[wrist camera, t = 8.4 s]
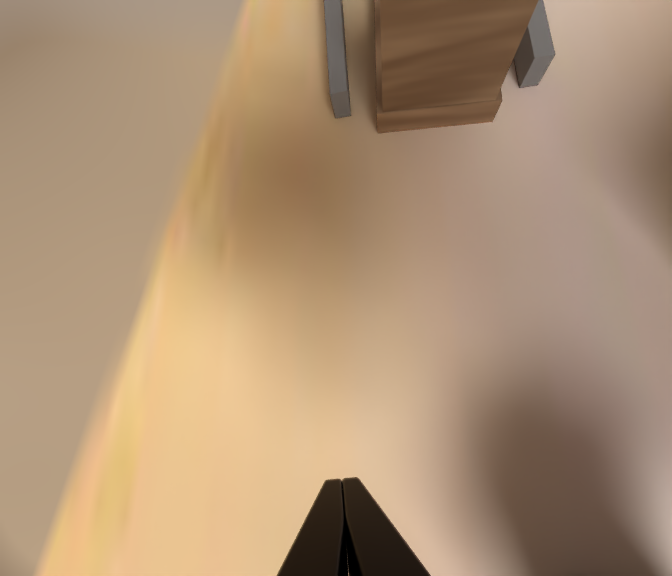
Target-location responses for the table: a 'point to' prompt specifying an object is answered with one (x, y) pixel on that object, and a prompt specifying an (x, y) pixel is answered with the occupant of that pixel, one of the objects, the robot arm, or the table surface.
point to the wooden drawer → (444, 59)
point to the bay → (528, 57)
